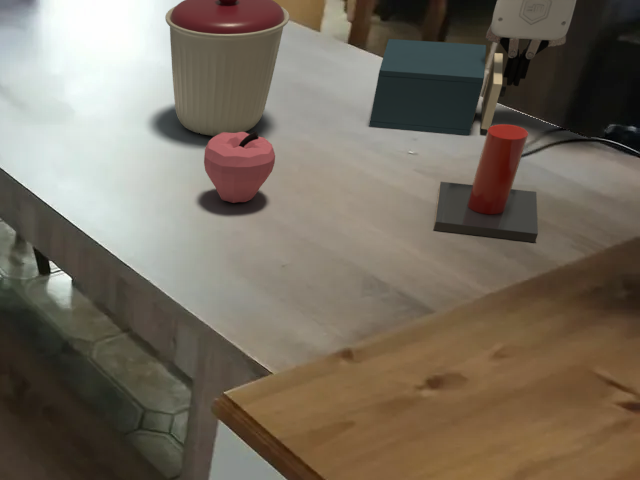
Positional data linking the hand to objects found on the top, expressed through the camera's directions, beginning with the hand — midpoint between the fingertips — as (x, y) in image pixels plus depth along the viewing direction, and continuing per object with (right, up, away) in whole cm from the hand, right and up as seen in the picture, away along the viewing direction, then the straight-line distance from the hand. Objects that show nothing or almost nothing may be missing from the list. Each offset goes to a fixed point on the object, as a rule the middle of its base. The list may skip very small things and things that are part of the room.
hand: (512, 82), depth 140 cm
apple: (-44, -21, -12) cm, 51 cm away
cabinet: (-11, -2, +7) cm, 13 cm away
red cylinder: (-13, -24, -19) cm, 33 cm away
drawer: (-7, -2, +6) cm, 9 cm away
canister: (-43, -4, +8) cm, 44 cm away
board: (-13, -25, -19) cm, 34 cm away
